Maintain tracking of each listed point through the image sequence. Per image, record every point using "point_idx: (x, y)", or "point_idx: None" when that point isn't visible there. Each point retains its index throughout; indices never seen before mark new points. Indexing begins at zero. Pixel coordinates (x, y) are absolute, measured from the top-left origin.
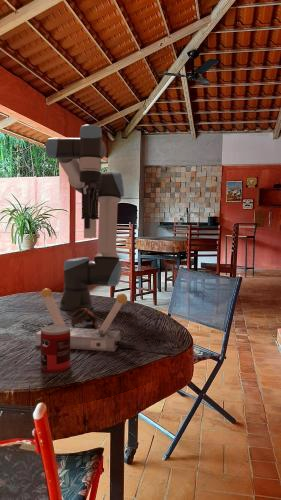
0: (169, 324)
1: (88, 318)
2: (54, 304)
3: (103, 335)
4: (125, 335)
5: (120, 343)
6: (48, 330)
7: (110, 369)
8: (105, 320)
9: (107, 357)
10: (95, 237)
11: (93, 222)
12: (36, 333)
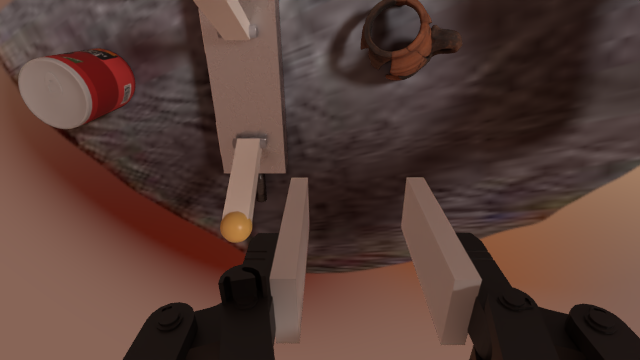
0: None
1: (374, 66)
2: (215, 7)
3: None
4: (341, 162)
5: None
6: (42, 79)
7: (147, 175)
8: (233, 164)
9: (197, 157)
10: (401, 227)
11: (434, 299)
12: None
